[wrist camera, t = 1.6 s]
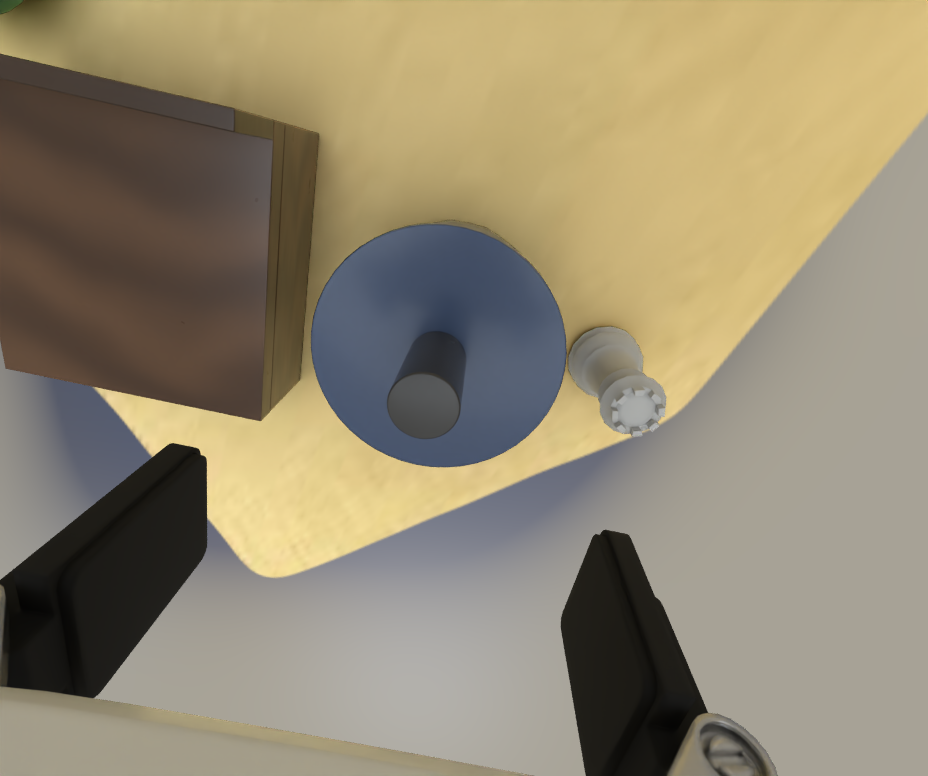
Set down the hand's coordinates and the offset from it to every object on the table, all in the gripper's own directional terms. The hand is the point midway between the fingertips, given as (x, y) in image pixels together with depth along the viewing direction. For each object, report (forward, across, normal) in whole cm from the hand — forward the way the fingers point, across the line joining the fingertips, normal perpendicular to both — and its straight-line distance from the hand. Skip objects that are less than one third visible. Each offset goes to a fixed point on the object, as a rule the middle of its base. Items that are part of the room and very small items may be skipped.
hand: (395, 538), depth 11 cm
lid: (+12, 0, -1) cm, 12 cm away
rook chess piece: (+20, -10, 0) cm, 23 cm away
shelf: (+20, +16, -1) cm, 26 cm away
